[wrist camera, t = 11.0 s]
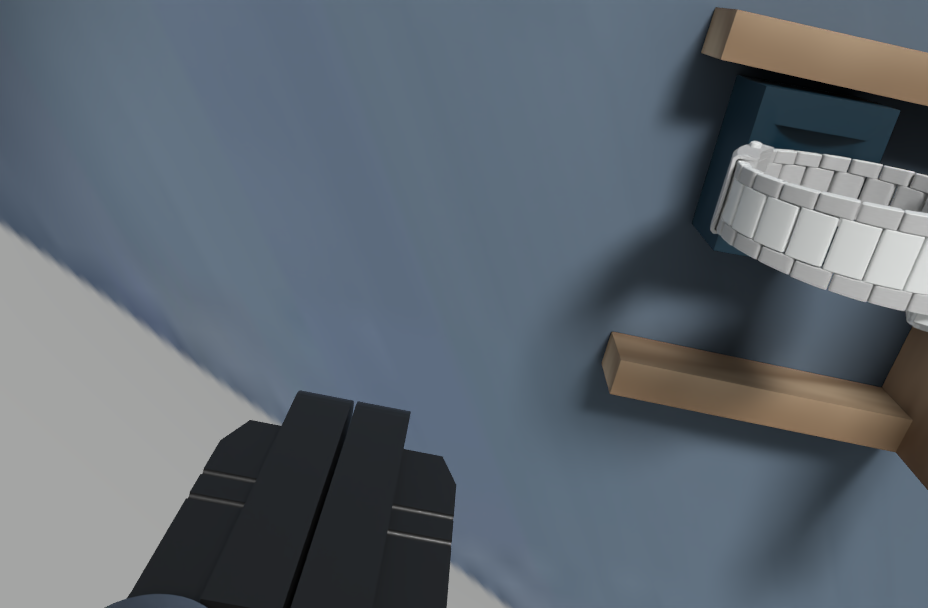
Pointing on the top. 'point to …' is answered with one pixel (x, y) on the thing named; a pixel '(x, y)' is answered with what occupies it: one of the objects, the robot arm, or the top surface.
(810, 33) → the display stand
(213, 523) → the robot arm
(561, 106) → the top surface
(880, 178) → the watch
